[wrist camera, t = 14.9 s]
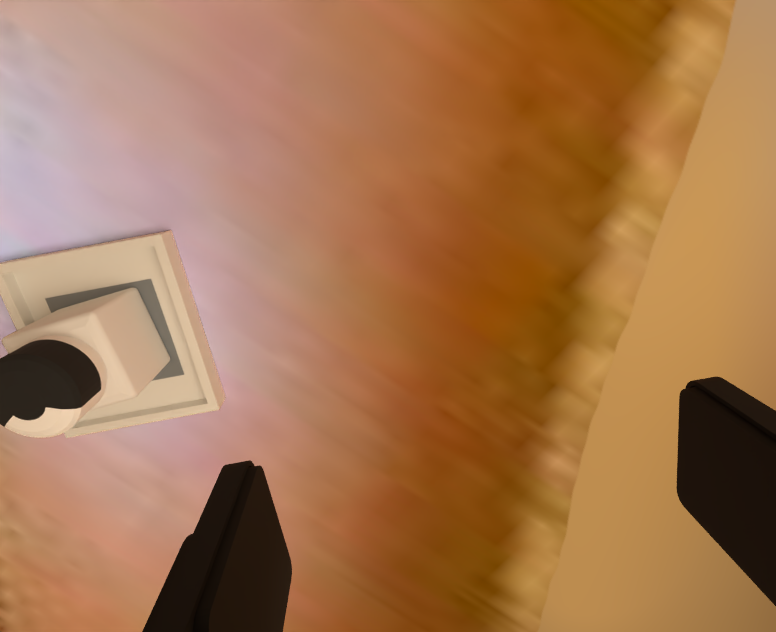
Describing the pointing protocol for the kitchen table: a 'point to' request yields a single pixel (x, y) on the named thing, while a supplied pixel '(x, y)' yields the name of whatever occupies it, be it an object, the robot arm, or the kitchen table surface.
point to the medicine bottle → (78, 363)
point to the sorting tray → (163, 302)
